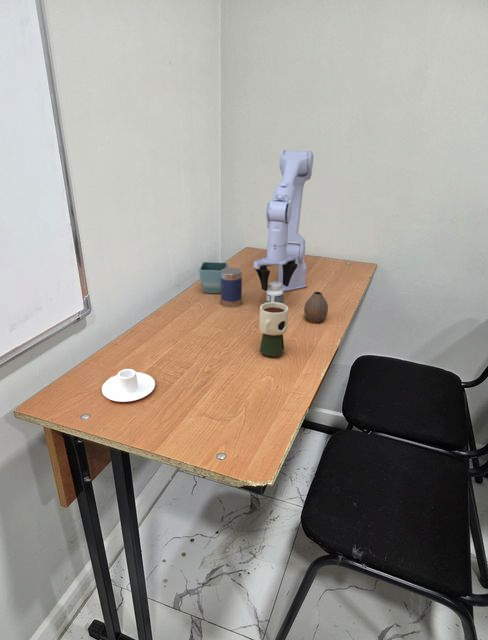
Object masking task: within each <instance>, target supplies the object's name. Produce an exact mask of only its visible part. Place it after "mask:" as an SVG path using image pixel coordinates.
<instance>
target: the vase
mask: <svg viewBox="0 0 488 640" xmlns="http://www.w3.org/2000/svg"><path fill="white" fill-rule="evenodd" d="M303 311H304V316H305V318H306V320H308V321H309V322H310V323H314V324H318V323H322V322H323V321H324V320H325V319H326V318H327V315H328V313H329V305H328V302H327V299H326V298H325V297H324V296H323V293H322V292H321V291H317V290H316V291H313V293H312V294H311V296H309V298H308V299H307V300H306V302H305V304H304V309H303Z"/></svg>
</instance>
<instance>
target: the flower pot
mask: <svg viewBox="0 0 488 640" xmlns="http://www.w3.org/2000/svg"><path fill="white" fill-rule="evenodd" d="M228 266H229V263H228V262H219V261H217V262H216V261H215V262H214V261H203V262H201V265H200V267H199V269H198V274H199V280H200V284H201V287H202V289H203V291H204V292H205V293H206V294H221V270H222V269H224V268H229V267H228Z"/></svg>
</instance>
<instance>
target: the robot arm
mask: <svg viewBox="0 0 488 640" xmlns="http://www.w3.org/2000/svg"><path fill="white" fill-rule="evenodd" d="M278 163H279V165H278V166H279V170H280V174H281V175H282V178H281V181H280V182H279V183H278V184H277V185H276V187H275V190H274V193H273V197H272V199H271V201H270V202H268V203H267V204H266V205H267V206H266V208H265V209H266V211H265V219H266V228H267V248H266V249H267V252H266V257H262V258H260V259H257V260H254V261H253V268H254V269H255V272H256V274H257V275H258V278H259V282H260V286H261V290H263V291H264V292H266V291H267V290H268V289H269V287H268V285H269V277H270V273H271V270H269V269H268V267H273V266H278V267H277V281H278V282H281V284H282V286H281V289H282V290H283V292H288V291H293V290H298V289H304V288H307V285H306V279H307V264H306V263H305V261H304V260H305V256H306V240H305V238H304V237H303V236H302V235H301V234H300V233H299V230H300V221H301V212H302V201H303V192H304V188H305V187H304V186H305V184H306V182H307V181H309V180H311V179H312V178H311V177H312V174H313V167H314V152H313V151H312V150H285V149H282V151H281V152H280V155H279V162H278Z"/></svg>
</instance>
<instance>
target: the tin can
mask: <svg viewBox="0 0 488 640" xmlns="http://www.w3.org/2000/svg"><path fill="white" fill-rule="evenodd" d="M242 289H243V270H242V269H241V268H238V267H233V266H231V267H230V266H229V267H227V268H224V269H222V270H221V293H220V299H221V300H220V304H221V306H224V307H226V308H235V307H240V306H241V305H242V298H243V293H242V292H243V290H242Z"/></svg>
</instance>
